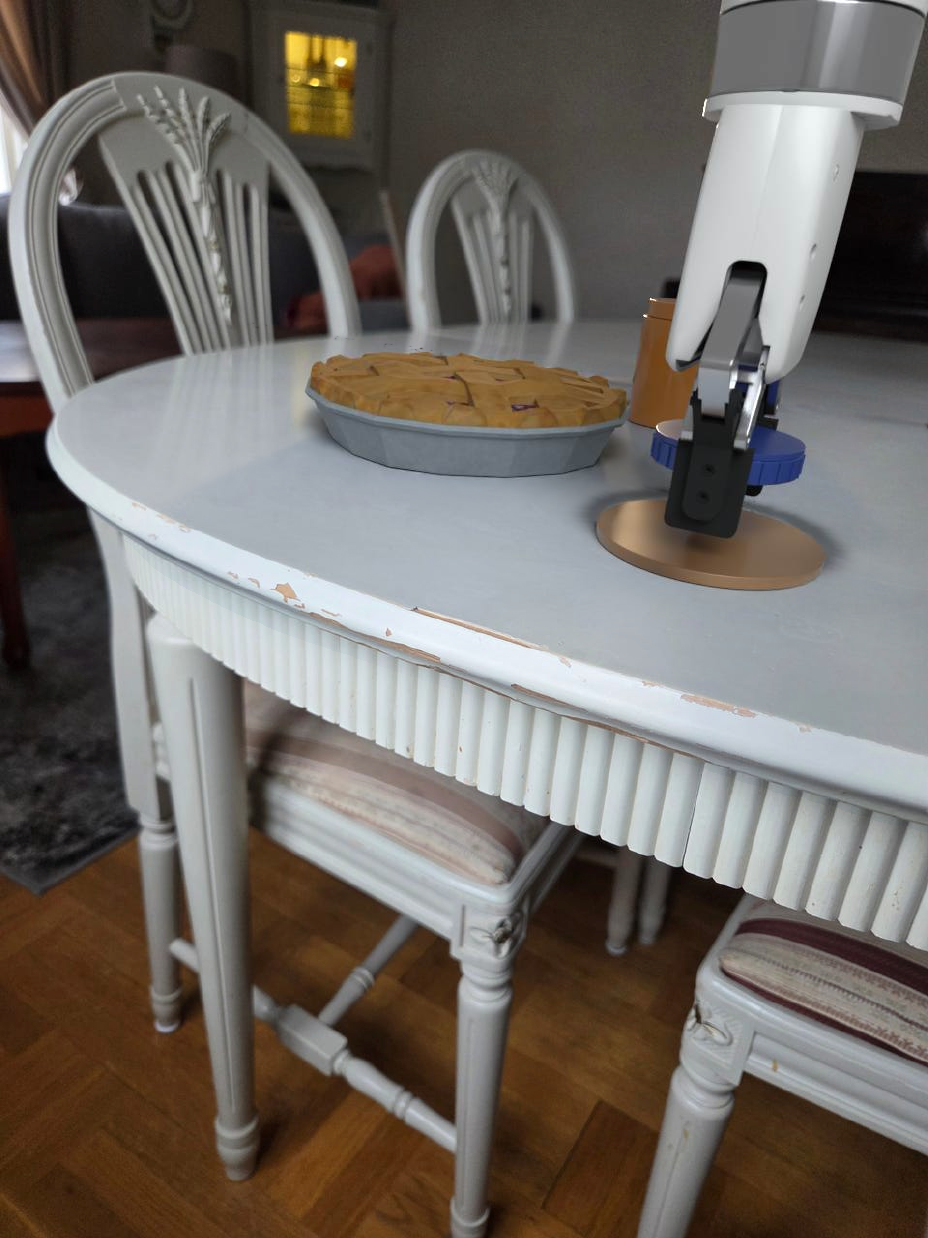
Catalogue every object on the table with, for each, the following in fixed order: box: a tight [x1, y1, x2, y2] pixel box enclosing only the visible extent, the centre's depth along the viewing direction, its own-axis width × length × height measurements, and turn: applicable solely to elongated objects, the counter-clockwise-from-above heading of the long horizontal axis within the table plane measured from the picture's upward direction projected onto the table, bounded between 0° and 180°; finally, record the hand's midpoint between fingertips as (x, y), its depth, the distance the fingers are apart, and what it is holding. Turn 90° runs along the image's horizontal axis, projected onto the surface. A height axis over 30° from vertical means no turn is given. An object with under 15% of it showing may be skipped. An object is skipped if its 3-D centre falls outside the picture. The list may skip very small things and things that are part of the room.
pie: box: [304, 351, 631, 478], centre depth 56 cm, size 22×22×5 cm
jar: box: [627, 297, 700, 429], centre depth 66 cm, size 6×6×9 cm
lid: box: [649, 419, 807, 486], centre depth 39 cm, size 7×7×1 cm
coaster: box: [595, 498, 826, 591], centre depth 41 cm, size 11×11×1 cm
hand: (715, 506), depth 40 cm, fingers closed on lid, 6 cm apart
